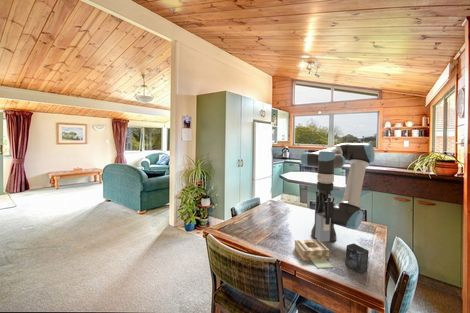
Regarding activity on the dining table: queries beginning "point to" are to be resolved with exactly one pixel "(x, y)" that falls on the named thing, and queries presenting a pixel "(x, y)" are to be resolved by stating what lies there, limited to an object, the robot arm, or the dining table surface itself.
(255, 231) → the dining table surface
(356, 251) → the box
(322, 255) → the socket block
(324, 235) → the plug
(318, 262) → the felt pad
